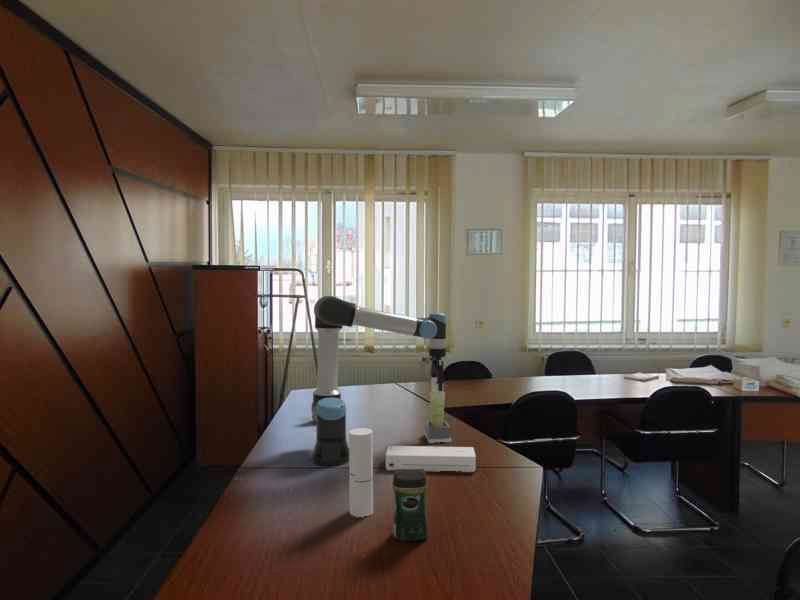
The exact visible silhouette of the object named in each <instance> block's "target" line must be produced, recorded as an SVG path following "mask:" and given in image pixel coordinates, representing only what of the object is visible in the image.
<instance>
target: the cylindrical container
mask: <svg viewBox="0 0 800 600" xmlns="http://www.w3.org/2000/svg"><path fill="white" fill-rule="evenodd" d="M373 438H374V437H373V430H372V429H370V428H365V427H364V428H363V427H362V428H361V427H358V428H353V429H350V430H349V431H348V447H349V461H348V462H349V463H348V464H349V468H348V469H349V474H348V475H349V477H348V479H349V480H348V481H349V514H351V515H353V516H352V517H354V516H356V517H355V518H358V517H362V518H365V517H364V516H368V517H369V515H370V516H371V515H373V514H374V479H373V478H374V477H373V475H374V470H373V469H374V467H373V466H374V464H373V463H374V459H373V458H374V457H373V456H374V455H373V453H374V452H373V450H374V449H373V443H374V442H373V440H374V439H373ZM351 515H350V516H351Z"/></svg>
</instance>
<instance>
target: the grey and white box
mask: <svg viewBox="0 0 800 600" xmlns="http://www.w3.org/2000/svg"><path fill="white" fill-rule="evenodd" d="M424 426H425V427H424V429H425V430H424V436H425V437H424V438H427V439H426V440H427V442H428V444H438V443H439V444H441V443H440V442H444V443H452V438H451V426H450V424H449V423H448V422H447V420H443V426H441V427H431V421H425V425H424ZM435 442H436V443H435ZM437 442H438V443H437Z"/></svg>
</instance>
